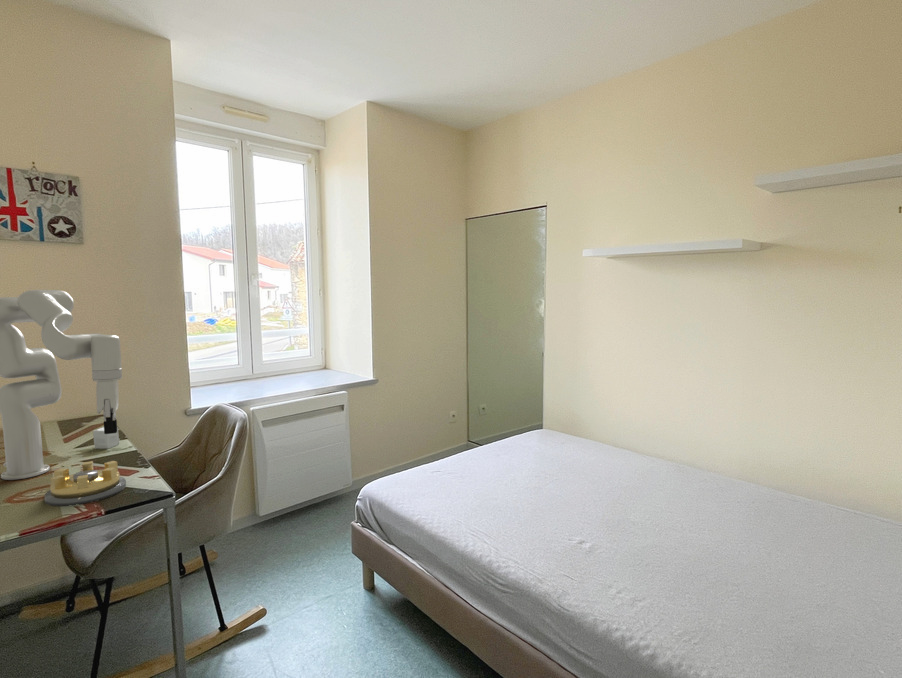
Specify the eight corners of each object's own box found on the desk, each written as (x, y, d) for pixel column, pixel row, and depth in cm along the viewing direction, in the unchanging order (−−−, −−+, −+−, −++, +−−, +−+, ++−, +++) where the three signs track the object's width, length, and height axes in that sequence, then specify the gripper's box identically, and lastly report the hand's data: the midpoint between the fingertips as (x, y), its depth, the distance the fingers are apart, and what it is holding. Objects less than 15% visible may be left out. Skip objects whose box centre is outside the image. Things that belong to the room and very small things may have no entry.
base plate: (28, 501, 144) (27, 495, 144) (96, 477, 163) (96, 472, 163) (75, 510, 138) (75, 504, 137) (141, 484, 156) (140, 479, 156)
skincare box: (119, 444, 200) (118, 426, 200) (107, 448, 194) (106, 430, 194) (106, 444, 201) (104, 426, 200) (93, 448, 195) (92, 430, 194)
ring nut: (102, 473, 161) (100, 457, 161) (131, 482, 153) (130, 465, 153) (39, 491, 147) (38, 473, 146) (68, 502, 139) (67, 483, 138)
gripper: (95, 372, 156) (99, 428, 158) (88, 379, 143) (92, 440, 145) (124, 370, 160) (127, 425, 161) (119, 377, 147) (123, 437, 148)
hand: (110, 432), depth 153 cm, fingers closed
